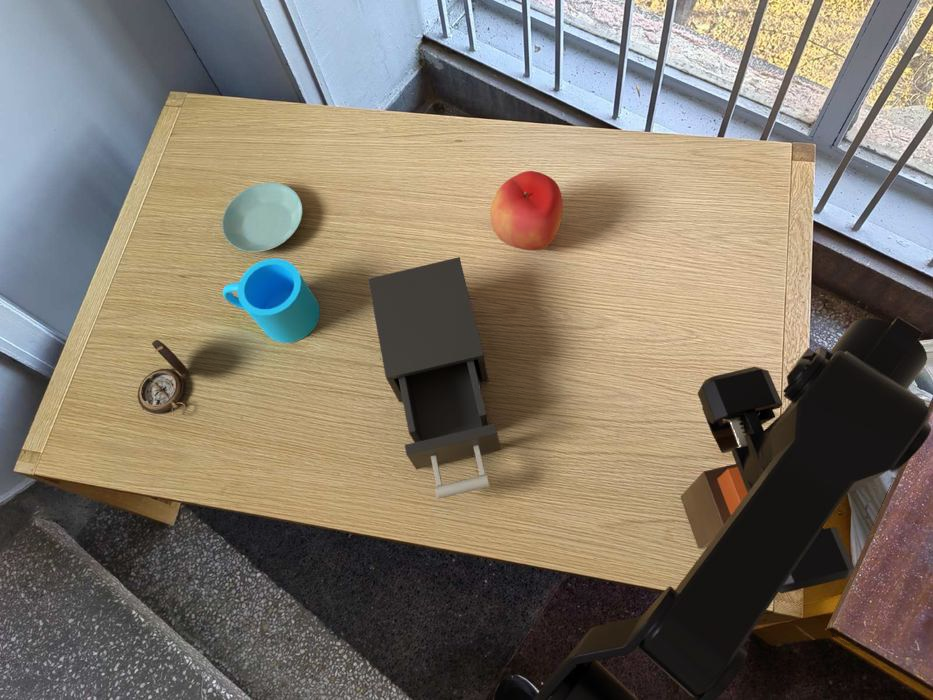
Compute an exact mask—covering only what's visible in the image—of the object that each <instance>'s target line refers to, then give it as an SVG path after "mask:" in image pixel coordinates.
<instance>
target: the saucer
mask: <svg viewBox="0 0 933 700" xmlns="http://www.w3.org/2000/svg"><path fill="white" fill-rule="evenodd" d="M299 196H300V195H298V194H297V192H296V191H294V189H292V188H291V187H289V186H287V185H285V184H282V183H278V182H262V183H258V184H254V185H252V186H249V187H247V188H245V189H244V190H242V191H241V192H239V193H238V194H237V195H235V196H234V197H233V199H231V201H230V202H229V203H228V205H227V206H226V207H225V210H224V213H223V215H222V222H221V228H222V233H223V235H224V238H225V239H226V241H227V242H228V243H229V244H230V245H231V246H232V247H234V248H236V249H238V250H239V251H243V252H250V253H260V252H265V251H269V250H272V249H274V248H277V247H279V246H280V245H282V244H285V242H286V241H288V240H289V239H290V238H291V237H292V236H293V234H294V233H295V232H296V231H297V229H298V227H299V225H300V224H301V221H302V218H303V204H302V201H301V198H300V197H299Z"/></svg>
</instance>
